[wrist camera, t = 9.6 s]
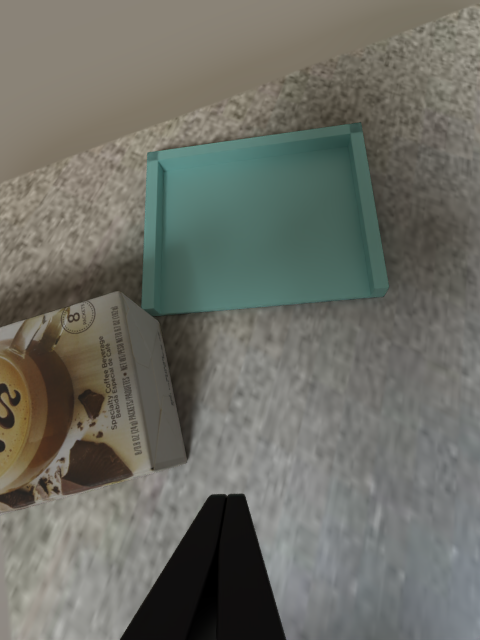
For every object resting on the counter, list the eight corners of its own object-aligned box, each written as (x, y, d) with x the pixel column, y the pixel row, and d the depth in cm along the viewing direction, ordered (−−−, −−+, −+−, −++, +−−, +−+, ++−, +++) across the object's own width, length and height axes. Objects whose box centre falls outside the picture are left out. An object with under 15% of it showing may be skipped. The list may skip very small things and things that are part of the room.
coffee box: (152, 473, 16) (-188, 571, 17) (191, 462, 22) (-61, 534, 23) (117, 284, 19) (-174, 375, 20) (160, 320, 25) (-64, 389, 26)
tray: (383, 296, 24) (389, 287, 22) (149, 316, 25) (141, 309, 24) (357, 138, 27) (360, 122, 26) (154, 166, 29) (147, 152, 28)
